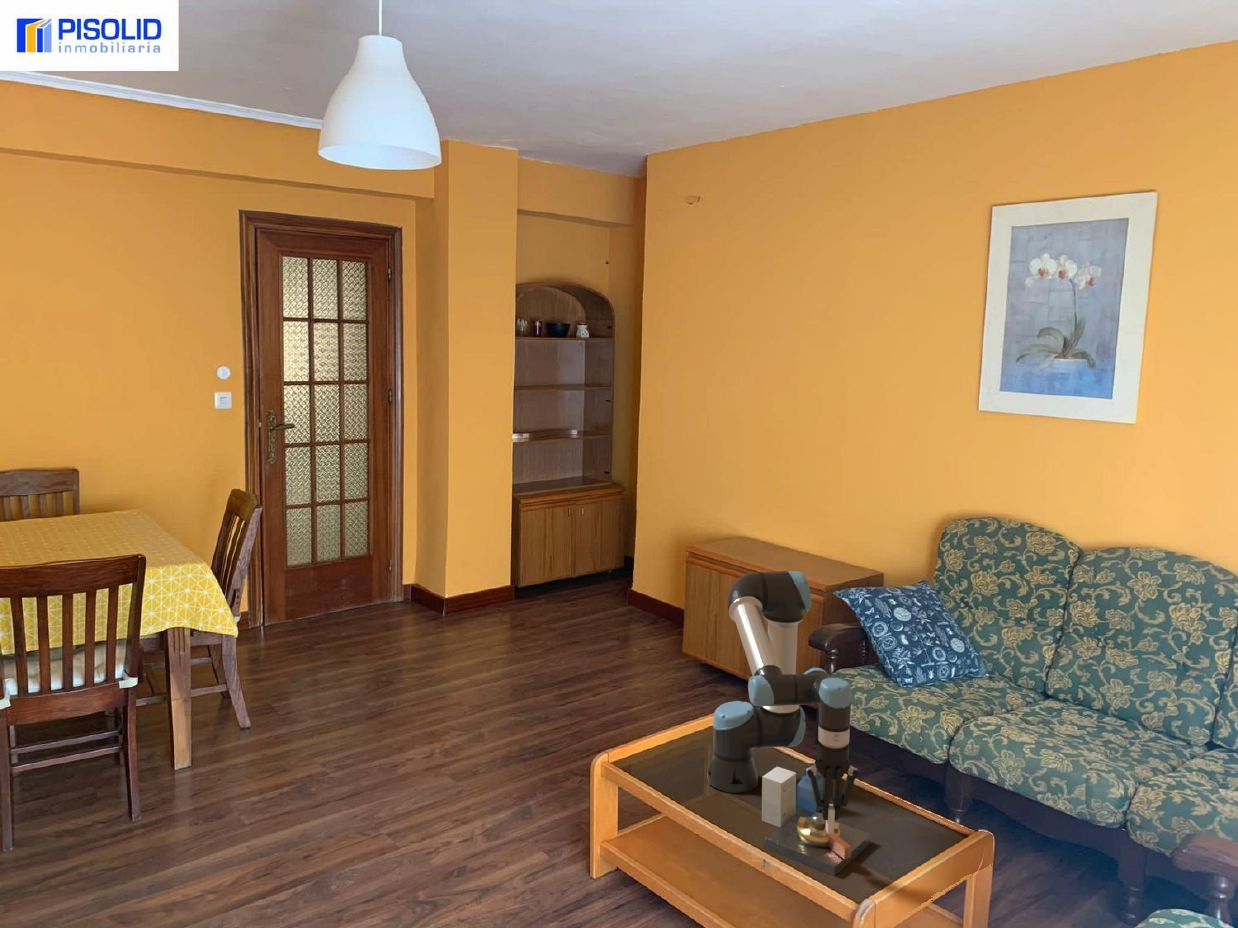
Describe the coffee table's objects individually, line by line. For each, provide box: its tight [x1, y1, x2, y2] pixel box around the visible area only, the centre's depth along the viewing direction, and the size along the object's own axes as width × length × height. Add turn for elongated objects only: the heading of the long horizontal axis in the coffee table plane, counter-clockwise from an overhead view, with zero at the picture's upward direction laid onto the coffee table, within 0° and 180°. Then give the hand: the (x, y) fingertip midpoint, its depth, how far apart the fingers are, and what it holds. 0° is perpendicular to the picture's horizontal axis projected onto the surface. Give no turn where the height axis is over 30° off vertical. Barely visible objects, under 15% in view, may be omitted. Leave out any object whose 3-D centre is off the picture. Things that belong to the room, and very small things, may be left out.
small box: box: [761, 766, 797, 828], centre depth 256 cm, size 8×6×13 cm
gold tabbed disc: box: [797, 812, 851, 859], centre depth 240 cm, size 18×11×4 cm, turn 25°
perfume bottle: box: [796, 762, 823, 813], centre depth 263 cm, size 6×6×12 cm
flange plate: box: [764, 809, 872, 877], centre depth 243 cm, size 20×20×8 cm
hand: (829, 830), depth 231 cm, fingers closed
